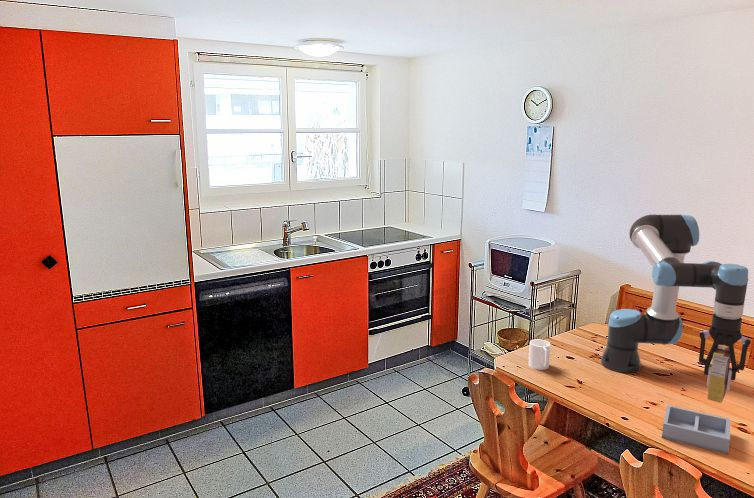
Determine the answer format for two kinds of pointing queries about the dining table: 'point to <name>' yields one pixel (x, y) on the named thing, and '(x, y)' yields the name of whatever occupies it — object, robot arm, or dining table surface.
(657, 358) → the dining table surface
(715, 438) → the bin
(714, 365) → the candy box
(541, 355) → the cup
